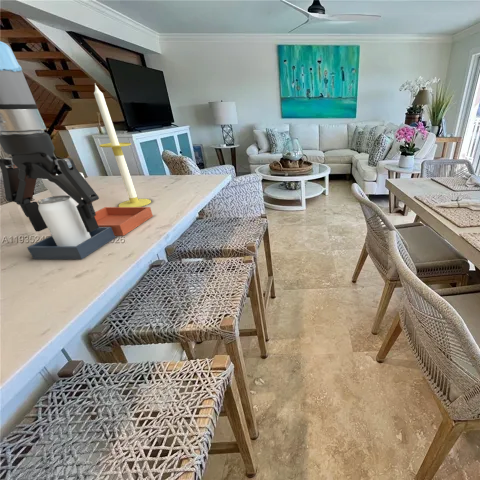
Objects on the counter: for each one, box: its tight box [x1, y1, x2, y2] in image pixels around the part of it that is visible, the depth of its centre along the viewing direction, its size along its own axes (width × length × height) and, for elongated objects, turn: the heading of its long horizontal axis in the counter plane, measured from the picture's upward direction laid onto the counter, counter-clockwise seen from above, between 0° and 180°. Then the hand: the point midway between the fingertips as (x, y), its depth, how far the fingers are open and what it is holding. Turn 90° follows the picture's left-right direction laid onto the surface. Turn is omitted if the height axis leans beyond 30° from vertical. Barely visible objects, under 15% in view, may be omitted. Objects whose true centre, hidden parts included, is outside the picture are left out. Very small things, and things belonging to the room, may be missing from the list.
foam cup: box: [41, 171, 86, 205], centre depth 81 cm, size 10×9×13 cm
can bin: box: [26, 227, 116, 260], centre depth 65 cm, size 11×11×3 cm
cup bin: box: [94, 206, 154, 237], centre depth 77 cm, size 14×14×3 cm
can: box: [37, 195, 91, 246], centre depth 63 cm, size 6×6×12 cm
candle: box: [93, 83, 152, 207], centre depth 86 cm, size 10×10×38 cm
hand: (68, 229), depth 64 cm, fingers open, 11 cm apart
